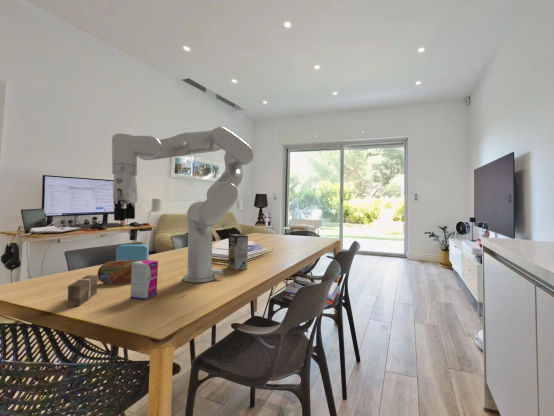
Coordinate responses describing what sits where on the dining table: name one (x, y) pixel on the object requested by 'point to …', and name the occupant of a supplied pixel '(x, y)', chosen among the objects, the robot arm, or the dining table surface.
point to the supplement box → (144, 279)
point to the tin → (116, 272)
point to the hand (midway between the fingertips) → (125, 219)
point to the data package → (132, 252)
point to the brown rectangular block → (82, 290)
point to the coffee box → (238, 251)
